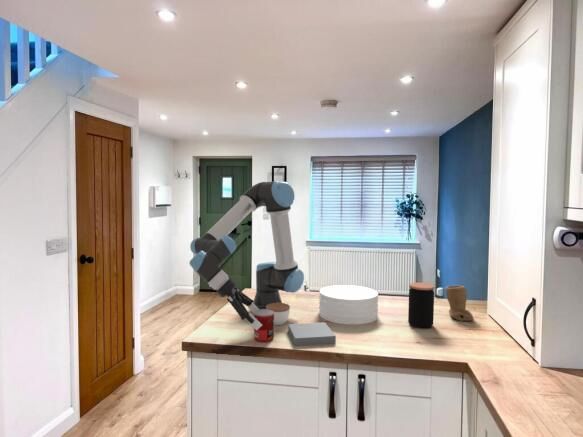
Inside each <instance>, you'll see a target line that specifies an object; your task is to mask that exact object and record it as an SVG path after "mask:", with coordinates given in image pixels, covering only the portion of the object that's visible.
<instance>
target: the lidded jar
mask: <svg viewBox="0 0 583 437" xmlns="http://www.w3.org/2000/svg"><path fill="white" fill-rule="evenodd" d="M290 308H291V307H290V305H289V304H288V303H285V302H282V303H279V302H277V303H271V304H268V305H266V309H269V310H272V311H274V326H280V325H281V326H282V325H284V324H285V323H286V322H287V321H288V319H289V316H290Z"/></svg>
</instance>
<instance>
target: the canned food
mask: <svg viewBox="0 0 583 437" xmlns="http://www.w3.org/2000/svg"><path fill="white" fill-rule="evenodd" d="M253 316H254V317H255V318H256V319H257V320H258V321H259V322H260V323H261V324H262V326H261V327H260V328H259V329H258V330H256V329H255V328H254V327H253V337H254V340H255V341H256V342H259V343H269V342H272V341H273V340H274V338H275V325H274V311H272V310H269V309H259V310H256V311H255V312H254V313H253Z"/></svg>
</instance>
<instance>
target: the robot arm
mask: <svg viewBox="0 0 583 437" xmlns="http://www.w3.org/2000/svg"><path fill="white" fill-rule="evenodd" d="M294 201H295V191H294V189H293V187H292V186H291V185H290V184H289V183H288V182H286V181H281V180H280V181H279V180H277V181H275V180H274V181H261V182H258V183H255V184H254V185H252V186H251V187H249V188H248V189H247V190H246V191H245V192H244V193H243V194H242V195H240V196H239V201H237V202H236V203H235V204H234V205H233V206H232V207H231V208H230V209H229V210H228V211H227V212H226V213H225V214H224V215H223V216H222V217H221V218H220V219H219V220H218V221H217V222H216V223H215V224H214V225H213V226H212V227H211V228H210V229H209V230H208V231H207V232H206V233H204V234H203V235H202V236H201V237H196V238H193V240H192V241H191V242H190V244H189V245H190V246H189V247H190V251H191V253H192V254H194V256H193V257H192V258H191V259H190V260H189V266H190V267H191V268H192V269H193V270H194V271H195V273H197V275H199V276H200V277H201V278H202V279H203V280H204V281H205V282H206V284H208V285H209V288H212V289H213V290H214V291H216V293H217V294H218V295H219V296H220V297H221V298H224V297H226V296H227V298H226V301H227V302H229V303H230V305H231V306H232V307H233V309H234V311H235V312H236V313H237V314H238V316H239V317H240V319H241V320H242V321H244V320H245V321H247V322H248V324H250V326H251V327H252V328H253V329H254V328H255V329H256V330H258V329H259V328H260V327H261V326H262V324H261V323H260V322H259V321H258V320H257V319H256V318H255V317H254V312H255V311H256V310H259V309H266V305H268V304H271V303H277V302H279V303H283V302H282V297H281V296H280V294H281V293H280V291H281V292H285V293H292V294H293V293H297V292H299V291H300V290H301V287H302V286H303V284H304V280H305V274H304V272H303V271H302V270H301V269H300V268H299V267H298V266H299V264H298V262H297V261H296V260H295V258H294V250H293V242H292V234H291V226H290V218H289V212H290V211H291V209H292V208H291V206H292V205H293V203H294ZM261 207H265V211H266V213H267V214H269V215H270V216H269V217H270V225H271V232H272V239H273V247H274V254H275V261H268V262H261V263H258V264H257V265H256V269H255V277H256V278H255V284H256V286H255V287H256V288H255V289H256V290H255V295H254V298H253V299H252V298H251V297H249V296H248V295H246V294H245V293H244V292H242V291H241V290H240V289H239V288H238V287H237V286H236V282H235V281H234V280H233V279H232V278H231V277H229V275H228V274H227V273H226V272H225V271H224V270H223V269H222V268H221V267H220V266H221V265H222V264H223V263H224V262H225V261H226V260H227V259H228V258H229V257H230V256H232V254H233V253H234V252H235V251H236V250H237V243H236V242H235V240H233V238H231V237H230V236H229V235H230V234H231V233H232V231H234V230H235V229H236V228H237V227H238V225H240V223H242V221H243V220H244V219H245V218H246V217H248V215H249V214H250V213H251V212H252V213H254V212H256V210H257V209H258V208H261ZM245 306H246V307H247V308H248V310H250V311H251V312H252V314H251V312H248V310H247V308H246V307H245Z"/></svg>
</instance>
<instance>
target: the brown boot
mask: <svg viewBox="0 0 583 437" xmlns="http://www.w3.org/2000/svg"><path fill="white" fill-rule="evenodd" d="M444 292H445V297H446V299H447V301H448V304H449V308H450V309H449V310H448V313H449V316H450V317H451V318H453V319H455V320H457V321H462V322H468V321H473V320H474V318H475V317H474V316H473V315H472V312H471V311H470V310H468V309H467V308H466V307H467V300H468V299H467V298H468V294H467V288H466V286H464V285H461V284H460V285H459V284H458V285H448V286H446V287H445V288H444Z"/></svg>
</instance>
